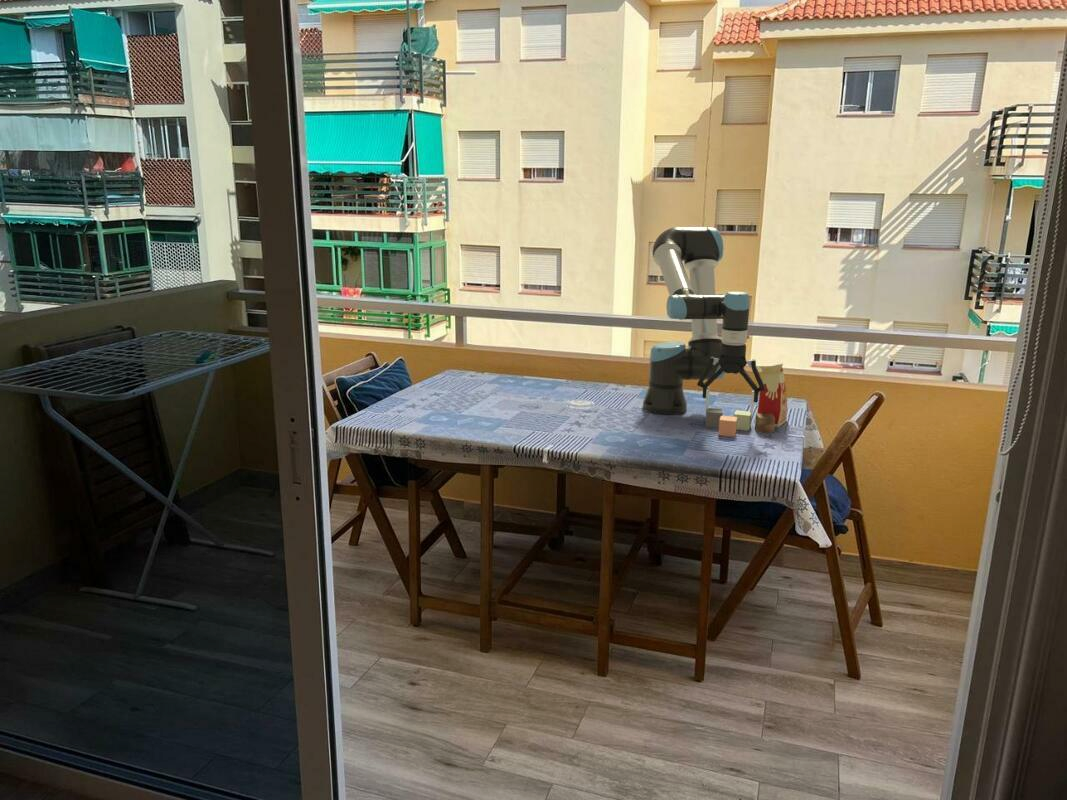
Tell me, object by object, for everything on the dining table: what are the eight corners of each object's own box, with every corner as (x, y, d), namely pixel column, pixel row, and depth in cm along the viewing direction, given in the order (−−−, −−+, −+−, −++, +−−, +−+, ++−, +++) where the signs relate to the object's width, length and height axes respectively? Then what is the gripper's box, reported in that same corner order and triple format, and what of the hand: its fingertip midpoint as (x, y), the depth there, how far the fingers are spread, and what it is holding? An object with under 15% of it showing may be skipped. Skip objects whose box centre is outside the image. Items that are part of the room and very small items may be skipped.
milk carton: (786, 420, 259) (792, 361, 253) (779, 427, 251) (785, 366, 246) (759, 416, 263) (764, 358, 258) (751, 423, 255) (756, 363, 250)
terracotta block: (718, 435, 243) (719, 419, 241) (719, 430, 247) (720, 415, 246) (734, 436, 241) (736, 421, 240) (735, 432, 246) (737, 417, 245)
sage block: (732, 429, 249) (733, 414, 248) (735, 424, 254) (736, 410, 252) (748, 430, 247) (749, 415, 246) (750, 426, 252) (752, 411, 250)
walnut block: (757, 432, 245) (758, 417, 244) (754, 428, 250) (756, 413, 249) (773, 433, 245) (775, 418, 244) (770, 428, 250) (772, 413, 248)
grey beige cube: (705, 427, 251) (706, 412, 250) (705, 422, 256) (706, 408, 255) (721, 427, 250) (722, 412, 249) (720, 423, 255) (721, 408, 254)
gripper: (691, 342, 237) (687, 409, 242) (776, 347, 230) (770, 416, 235) (693, 338, 244) (690, 403, 249) (776, 343, 237) (771, 410, 242)
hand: (729, 410), depth 242 cm, fingers open, 13 cm apart
